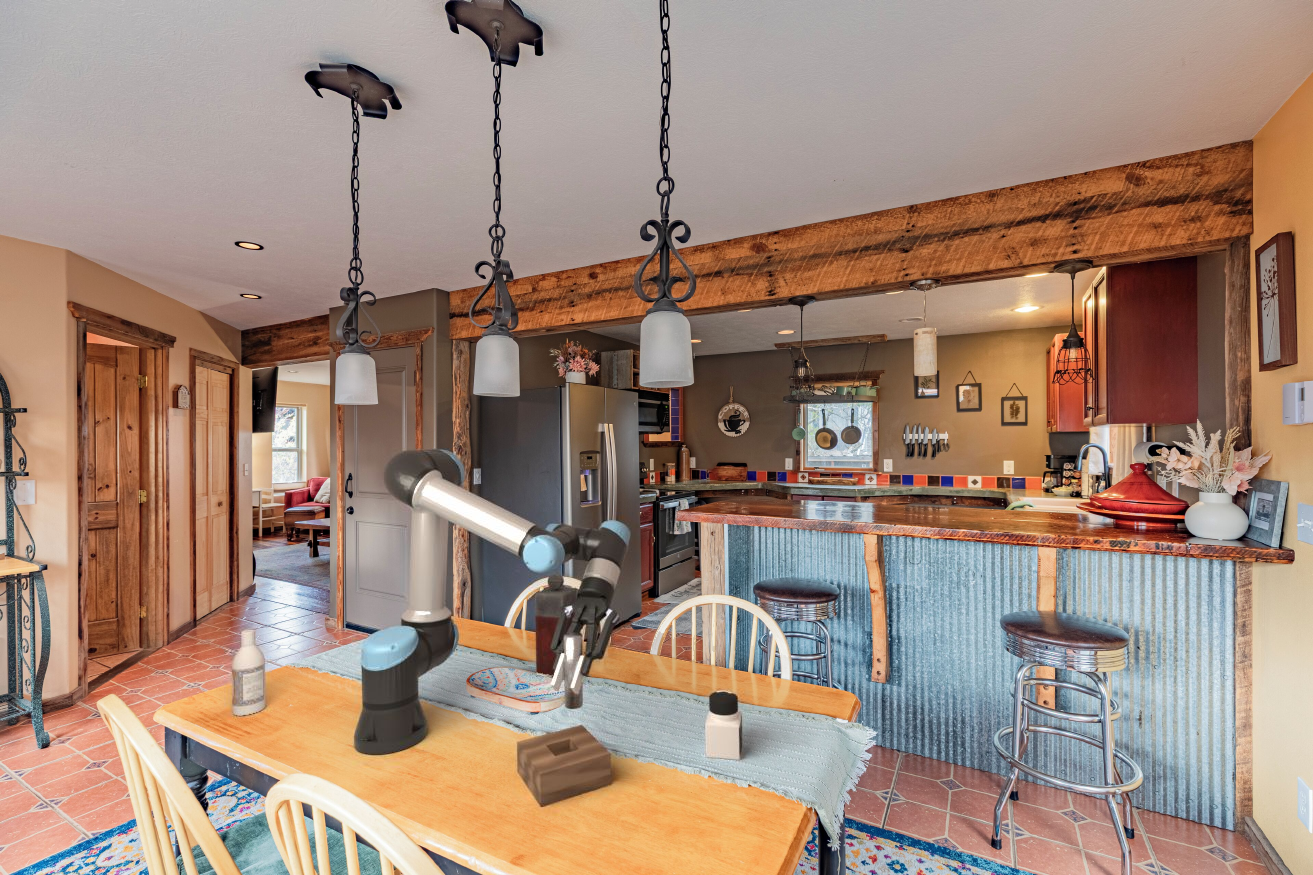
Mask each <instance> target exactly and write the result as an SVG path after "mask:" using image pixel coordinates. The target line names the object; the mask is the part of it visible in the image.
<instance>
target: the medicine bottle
mask: <svg viewBox="0 0 1313 875" xmlns="http://www.w3.org/2000/svg"><path fill="white" fill-rule="evenodd" d="M708 699H709V700H708V704H709V706H708V713H707V717H706V720H705V724H704V727H705V728H704V730H705V731H704V732H705V735H704V736H705V757H706V758H709V759H720V760H721V759H722V760H732V761H740V760H741V757H742V752H743V751H742V750H743V712H742V711H740V710H739V698H738V695H737V694H736V693H735V692H733V691H729V690H717V691H713V692H711V693H710V695H709V697H708Z"/></svg>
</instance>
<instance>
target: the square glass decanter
mask: <svg viewBox="0 0 1313 875" xmlns="http://www.w3.org/2000/svg"><path fill="white" fill-rule="evenodd" d="M564 582H565V578H564V577H563V575H562V574H561V573H557V572H556V573H553V574H551V575H549V576H548V578H547V586H548V587H546V588H544V589H542V590H540V591H538V592H536V593H535V595H534V606H535V607H534V611H535V612H534V613H535V616H534V618H535V620H534V621H535V671H536V672H538V673H543V674H549V675H554V673H555V671H554V670H553V665H554V662H555V659H556V657H557V654H555V653H554V652H553V650H552V649H551V644H552V640H553V637H554V633H555V630H556V627H557V623H558V620H559V617H560V611H559V608H560V607H561V606H564V607H569V606H572V604H573V603H574V602H575V600H576V599H577V589H576V587H571V586H570V587H567V586H563V585H564V584H565V583H564ZM573 617H574V612H572V613H571V617H570V618H569V622H568V626H567V630H566V633H567V631H568V629H569V627H570V626H571V624H572V619H573ZM566 633H565V634H566Z"/></svg>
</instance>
